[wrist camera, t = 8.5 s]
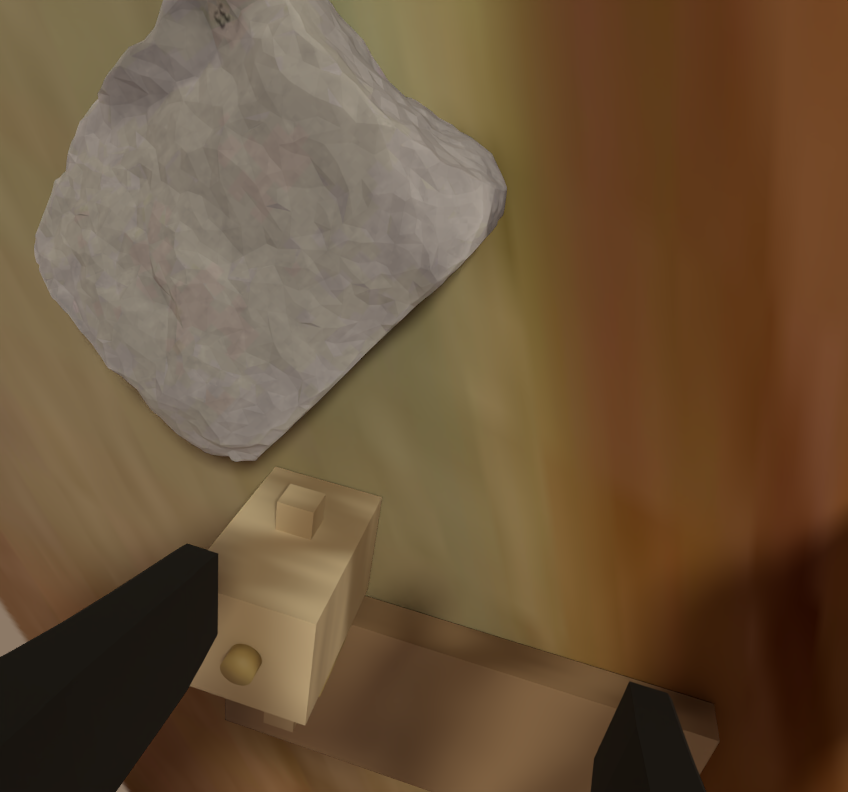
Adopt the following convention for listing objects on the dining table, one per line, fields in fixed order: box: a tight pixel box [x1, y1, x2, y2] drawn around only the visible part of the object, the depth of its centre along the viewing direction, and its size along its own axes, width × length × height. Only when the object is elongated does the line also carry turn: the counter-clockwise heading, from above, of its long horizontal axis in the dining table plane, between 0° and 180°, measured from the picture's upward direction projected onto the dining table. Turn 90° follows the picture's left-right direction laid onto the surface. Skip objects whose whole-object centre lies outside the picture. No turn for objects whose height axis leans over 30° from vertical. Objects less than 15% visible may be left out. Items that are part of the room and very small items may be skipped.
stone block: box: [34, 0, 507, 462], centre depth 19 cm, size 12×5×10 cm
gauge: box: [190, 467, 382, 732], centre depth 23 cm, size 4×11×7 cm, turn 171°
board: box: [225, 596, 720, 792], centre depth 26 cm, size 18×8×2 cm, turn 81°
